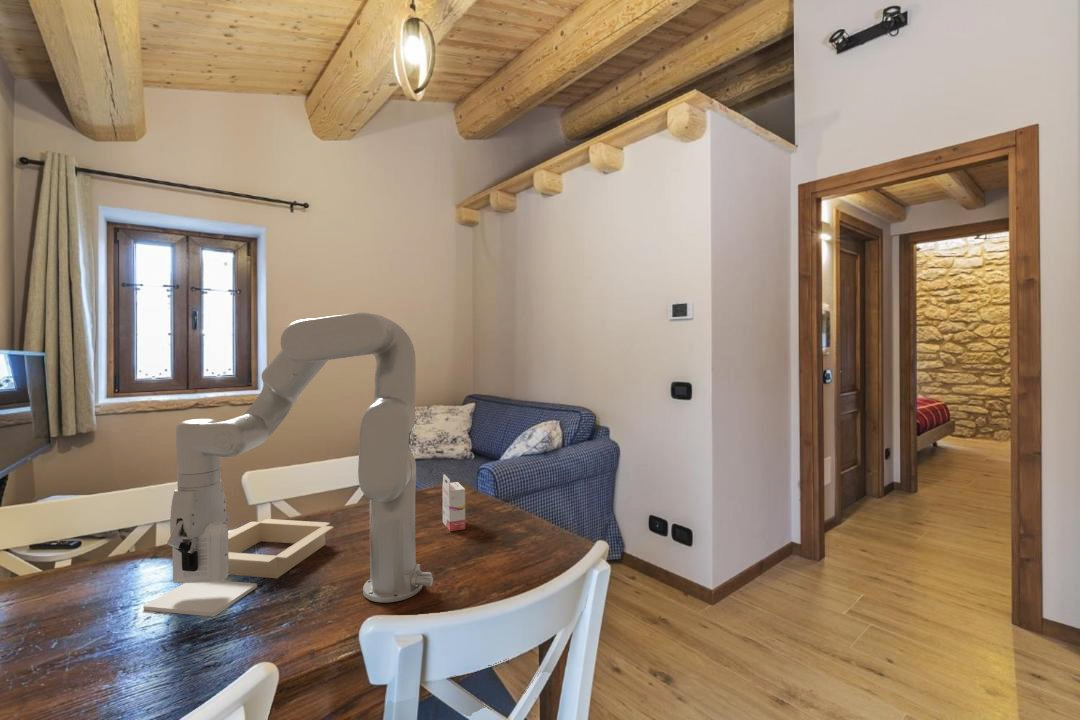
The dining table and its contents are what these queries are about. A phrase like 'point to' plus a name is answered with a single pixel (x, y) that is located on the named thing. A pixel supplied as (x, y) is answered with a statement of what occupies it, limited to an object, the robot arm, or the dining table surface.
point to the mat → (201, 598)
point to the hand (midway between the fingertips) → (201, 563)
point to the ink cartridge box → (453, 505)
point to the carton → (273, 530)
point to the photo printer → (206, 557)
